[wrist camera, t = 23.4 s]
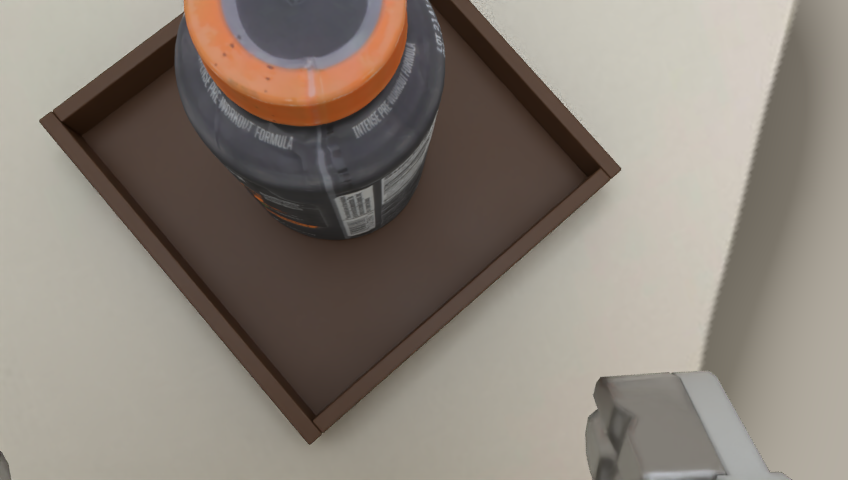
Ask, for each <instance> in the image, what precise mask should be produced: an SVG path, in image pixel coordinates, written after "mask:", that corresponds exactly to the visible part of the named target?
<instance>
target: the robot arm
mask: <svg viewBox="0 0 848 480" xmlns="http://www.w3.org/2000/svg"><path fill="white" fill-rule="evenodd" d="M593 397H594V399H595V402H596V405H597V408H598V409H597V410H596V411H595V412H593V413H592V414H591V415H590V416H589V417H588V421H587V427H586V432H585V437H586V455H587V460H588V465H589V470H590V473H591V476H592V480H792V479H791V478H789V477H788V476H786V475H785V474H784V473H782V472H770V471H769V469H768V467H767V466H766V464H765V462H764V460H763V458H762V457H761V455H760V453H759V451H758V450H757V448H756V446H755V444H754V442H753V441H752V439H751V437H750V435H749V434H748V432H747V430H746V428H745V426H744V425H743V423H742V421H741V419H740V417H739V416H738V414H737V412H736V410H735V408H734V407H733V405H732V403H731V401H730V399H729V398H728V396H727V394H726V392H725V391H724V389H723V387H722V385H721V383H720V382H719V380H718V378H717V376H716V375H714V374H713V373H712V372H711V371H694V372H676V373H669V372H667V373H652V374H638V375H623V376H609V377H600V379H599V380H598V381H597V383H596V386H595V390H594V394H593ZM0 480H11V475H10V470H9V465H8V462H7V461H6V459H5V457H4V455H3V453H2V452H1V451H0Z"/></svg>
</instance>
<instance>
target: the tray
mask: <svg viewBox="0 0 848 480" xmlns="http://www.w3.org/2000/svg"><path fill="white" fill-rule="evenodd" d="M429 2H430V4H431V6H432V8H433V10H434V12H435V14H436V17H437V20H438V22H439V25H440V29H441V33H442V37H443V41H444V48H445V79H444V88H443V93H442V96H441V102H440V105H439V108H438V112H437V116H436V120H435V124H434V128H433V132H432V136H431V140H430V143H429V147H428V151H427V155H426V159H425V163H424V167H423V171H422V174H421V178H420V180H419V183H418V186H417V188H416V190H415V192H414V194H413V195H412V197H411V199H410V201H409V202H408V204H407V205H406V207H405V208H404V209H403V210H402V211H401V212H400V213H399V214H398V215H397V216H396V217H395V218H394V219H393V220H392V221H390V222H389V223H388V224H386V225H385V226H383V227H381V228H380V229H378V230H376V231H374V232H372V233H370V234H367V235H364V236H361V237H357V238H351V239H344V240H327V239H318V238H313V237H309V236H307V235H304V234H302V233H299V232H297V231H295V230H292V229H290V228H288V227H286V226H284V225H283V224H281V223H280V222H279V221H277V220H276V219H275V218H274V217H273V216H272V215H270V214H269V213H268V212H267V211H266V210H265V208H264V207H263V206H262V205H261V204H260V203H259V202H258V201H257V200H256V199H255V198H254V197H253V196H252V195H251V194H250V193H249V192H248V190H247V189H246V188H245V187H244V186H243V185H242V184H241V182H240V181H239V180H238V179H237V178H236V177H235V176H234V175H233V174H232V173H231V172H230V171H229V170H228V169H227V168H226V167H225V166H224V165H223V164H222V163H221V162H220V161H219V159H218V158H217V157H215V155H214V154H213V153H212V152H211V151H210V149H209V148H208V147H207V146H206V145H205V144H204V142H203V141H202V140H201V138H200V137H199V135H198V134H197V132H196V131H195V129H194V127H193V126H192V124H191V122H190V121H189V119H188V117H187V115H186V112H185V110H184V107H183V104H182V101H181V99H180V95H179V91H178V87H177V82H176V76H175V45H176V39H177V33H178V28H179V25H180V22H181V20H182V17H183V15H184V12H183V13H182V14H180V15H179V16H178V17H176V18H175V19H174V20H172V21H171V22H170V23H168V24H167V25H166V26H164V27H163V28H162V29H160V30H159V31H158V32H156V33H155V34H154V35H152V36H151V37H150V38H148V39H147V40H146V41H144V42H143V43H142V44H140V45H139V46H138V47H136V48H135V49H134V50H132V51H131V52H130V53H128V54H127V55H126V56H124V57H123V58H122V59H120V60H119V61H118V62H116V63H115V64H114V65H112V66H111V67H110V68H108V69H107V70H106V71H104V72H103V73H102V74H100V75H99V76H98V77H96V78H95V79H94V80H92V81H91V82H90V83H88V84H87V85H86V86H84V87H83V88H82V89H80V90H79V91H78V92H76V93H75V94H74V95H72V96H71V97H70V98H68V99H67V100H66V101H64V102H63V103H62V104H60V105H59V106H58V107H56V108H55V109H54V110H53V112H50V113H48V114H47V115H46V116H44V117H43V118H42V119H40V120H39V122H40V123H41V124H42V126H43V127H44V128H45V129H46V130H47V132H48V133H49V134H50V135H51V136H52V138H53V139H54V140H55V141H56V142H57V144H58V145H59V146H60V147H61V148H62V150H63V151H64V152H65V153H66V154H67V156H68V157H69V158H70V159H71V160H72V162H73V163H74V164H75V165H76V166H77V168H78V169H79V170H80V171H81V172H82V174H83V175H84V176H85V177H86V178H87V180H88V181H89V182H90V183H91V184H92V186H93V187H94V188H95V189H96V190H97V192H98V193H99V194H100V195H101V196H102V198H103V199H104V200H105V201H106V202H107V204H108V205H109V206H110V207H111V208H112V209H113V211H114V212H115V213H116V214H117V215H118V217H119V218H120V219H121V220H122V221H123V223H124V224H125V225H126V226H127V227H128V229H129V230H130V231H131V232H132V233H133V235H134V236H135V237H136V238H137V239H138V241H139V242H140V243H141V244H142V245H143V247H144V248H145V249H146V250H147V251H148V253H149V254H150V255H151V256H152V257H153V259H154V260H155V261H156V262H157V263H158V265H159V266H160V267H161V268H162V269H163V271H164V272H165V273H166V274H167V275H168V277H169V278H170V279H171V280H172V281H173V283H174V284H175V285H176V286H177V287H178V288H179V290H180V291H181V292H182V293H183V294H184V296H185V297H186V298H187V299H188V300H189V302H190V303H191V304H192V305H193V306H194V308H195V309H196V310H197V311H198V312H199V314H200V315H201V316H202V317H203V318H204V320H205V321H206V322H207V323H208V324H209V326H210V327H211V328H212V329H213V330H214V332H215V333H216V334H217V335H218V336H219V338H220V339H221V340H222V341H223V342H224V344H225V345H226V346H227V347H228V348H229V350H230V351H231V352H232V353H233V354H234V356H235V357H236V358H237V359H238V360H239V362H240V363H241V364H242V365H243V366H244V368H245V369H246V370H247V371H248V372H249V373H250V375H251V376H252V377H253V378H254V379H255V381H256V382H257V383H258V384H259V385H260V387H261V388H262V389H263V390H264V391H265V393H266V394H267V395H268V396H269V397H270V399H271V400H272V401H273V402H274V403H275V405H276V406H277V407H278V408H279V409H280V411H281V412H282V413H283V414H284V415H285V417H286V418H287V419H288V420H289V421H290V423H291V424H292V425H293V426H294V427H295V429H296V430H297V431H298V432H299V433H300V435H301V436H302V437H303V438H304V439H305V441H306V442H307V443H308V444H309V445H310V444H312V443H313V442H314V441H315V440H316V439H317V438H318V437H319V436H321V434H322V433H324V432H325V431H326V430H327V429H328V428H330V427H331V426H332V425H333V424H334V423H335V422H336V421H338V420H339V419H340V418H341V417H342V416H343V415H344V414H345V413H347V412H348V411H349V410H350V409H351V408H352V407H353V406H355V405H356V404H357V403H358V402H359V401H360V400H361V399H362V398H364V397H365V396H366V395H367V394H368V393H369V392H370V391H372V390H373V389H374V388H375V387H376V386H377V385H378V384H379V383H381V382H382V381H383V380H384V379H385V378H386V377H387V376H389V375H390V374H391V373H392V372H393V371H394V370H395V369H396V368H398V367H399V366H400V365H401V364H402V363H403V362H404V361H406V360H407V359H408V358H409V357H410V356H411V355H412V354H413V353H415V352H416V351H417V350H418V349H419V348H420V347H421V346H423V345H424V344H425V343H426V342H427V341H428V340H429V339H430V338H432V337H433V336H434V335H435V334H436V333H437V332H438V331H439V330H441V329H442V328H443V327H444V326H445V325H446V324H447V323H449V322H450V321H451V320H452V319H453V318H454V317H455V316H456V315H458V314H459V313H460V312H461V311H462V310H463V309H464V308H466V307H467V306H468V305H469V304H470V303H471V302H472V301H473V300H475V299H476V298H477V297H478V296H479V295H480V294H481V293H483V292H484V291H485V290H486V289H487V288H488V287H489V286H490V285H492V284H493V283H494V282H495V281H496V280H497V279H498V278H500V277H501V276H502V275H503V274H504V273H505V272H506V271H507V270H509V269H510V268H511V267H512V266H513V265H514V264H515V263H517V262H518V261H519V260H520V259H521V258H522V257H523V256H524V255H526V254H527V253H528V252H529V251H530V250H531V249H532V248H534V247H535V246H536V245H537V244H538V243H539V242H540V241H541V240H543V239H544V238H545V237H546V236H547V235H548V234H549V233H551V232H552V231H553V230H554V229H555V228H556V227H557V226H558V225H560V224H561V223H562V222H563V221H564V220H565V219H566V218H568V217H569V216H570V215H571V214H572V213H573V212H574V211H575V210H577V209H578V208H579V207H580V206H581V205H582V204H583V203H585V202H586V201H587V200H588V199H589V198H590V197H591V196H592V195H594V194H595V193H596V192H597V191H598V190H599V189H600V188H602V187H603V186H604V185H605V184H606V183H607V182H608V181H609V180H610V179H612V178H613V177H614V176H615V175H616V174H617V173H618V172H620V171H621V168H620V167H619V165H618V164H617V163H616V162H615V161H614V160H613V159H612V158H611V157H610V155H609V154H608V153H607V152H606V151H605V150H604V149H603V148H602V147H601V146H600V144H599V143H598V142H597V141H596V140H595V139H594V138H593V137H592V136H591V134H590V133H589V132H588V131H587V130H586V129H585V128H584V127H583V126H582V125H581V123H580V122H579V121H578V120H577V119H576V118H575V117H574V116H573V115H572V113H571V112H570V111H569V110H568V109H567V108H566V107H565V106H564V105H563V104H562V102H561V101H560V100H559V99H558V98H557V97H556V96H555V95H554V94H553V92H552V91H551V90H550V89H549V88H548V87H547V86H546V85H545V84H544V83H543V81H542V80H541V79H540V78H539V77H538V76H537V75H536V74H535V73H534V71H533V70H532V69H531V68H530V67H529V66H528V65H527V64H526V63H525V62H524V60H523V59H522V58H521V57H520V56H519V55H518V54H517V53H516V52H515V50H514V49H513V48H512V47H511V46H510V45H509V44H508V43H507V42H506V41H505V39H504V38H503V37H502V36H501V35H500V34H499V33H498V32H497V31H496V29H495V28H494V27H493V26H492V25H491V24H490V23H489V22H488V21H487V20H486V18H485V17H484V16H483V15H482V14H481V13H480V12H479V11H478V10H477V8H476V7H475V6H474V5H473V4H472V3H471V2H470V1H469V0H429Z"/></svg>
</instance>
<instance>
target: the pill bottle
mask: <svg viewBox="0 0 848 480" xmlns="http://www.w3.org/2000/svg"><path fill="white" fill-rule="evenodd" d="M175 76H176V82H177V87H178V91H179V95H180V99H181V101H182V104H183V107H184V110H185V112H186V115H187V117H188V119H189V121H190V122H191V124H192V126H193V127H194V129H195V131H196V132H197V134H198V135H199V137H200V138H201V140H202V141H203V142H204V144H205V145H206V146H207V147H208V148H209V149H210V151H211V152H212V153H213V154H214V155H215V157H217V158H218V159H219V161H220V162H221V163H222V164H223V165H224V166H225V167H226V168H227V169H228V170H229V171H230V172H231V173H232V174H233V175H234V176H235V177H236V178H237V179H238V180H239V181H240V182H241V184H242V185H243V186H244V187H245V188H246V189H247V190H248V192H249V193H250V194H251V195H252V196H253V197H254V198H255V199H256V200H257V201H258V202H259V203H260V204H261V205H262V206H263V207H264V208H265V210H266V211H267V212H268V213H269V214H270V215H272V216H273V217H274V218H275V219H276V220H277V221H279V222H280V223H281V224H283V225H284V226H286V227H288V228H290V229H292V230H295V231H297V232H299V233H302V234H304V235H307V236H309V237H313V238H318V239H327V240H344V239H351V238H357V237H361V236H364V235H367V234H370V233H372V232H374V231H376V230H378V229H380V228H381V227H383V226H385V225H386V224H388V223H389V222H390V221H392V220H393V219H394V218H395V217H396V216H397V215H398V214H399V213H400V212H401V211H402V210H403V209H404V208H405V207H406V205H407V204H408V202H409V201H410V199H411V197H412V195H413V194H414V192H415V190H416V188H417V186H418V183H419V180H420V178H421V174H422V171H423V167H424V163H425V159H426V155H427V151H428V147H429V143H430V140H431V136H432V132H433V128H434V124H435V120H436V116H437V112H438V108H439V105H440V102H441V96H442V93H443V88H444V79H445V48H444V41H443V37H442V33H441V29H440V25H439V22H438V20H437V17H436V14H435V12H434V10H433V8H432V6H431V4H430V2H429V0H184V15H183V17H182V20H181V22H180V25H179V28H178V33H177V39H176V45H175Z"/></svg>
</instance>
